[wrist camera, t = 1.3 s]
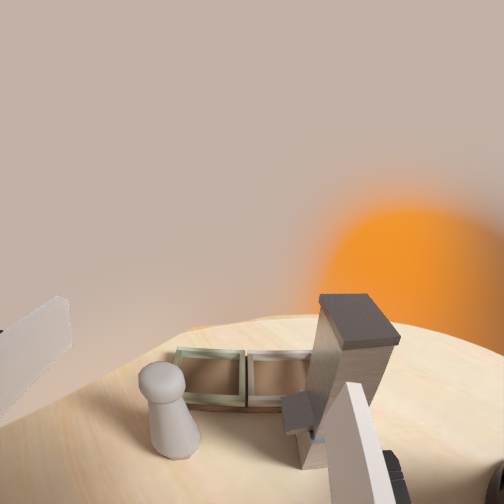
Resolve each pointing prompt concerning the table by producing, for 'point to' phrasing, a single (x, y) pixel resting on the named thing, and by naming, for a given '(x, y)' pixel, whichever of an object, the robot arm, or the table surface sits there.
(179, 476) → the table surface
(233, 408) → the grey brown flat rectangle
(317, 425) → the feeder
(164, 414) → the salt shaker
